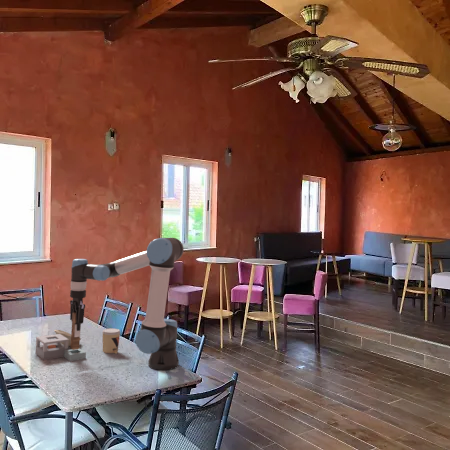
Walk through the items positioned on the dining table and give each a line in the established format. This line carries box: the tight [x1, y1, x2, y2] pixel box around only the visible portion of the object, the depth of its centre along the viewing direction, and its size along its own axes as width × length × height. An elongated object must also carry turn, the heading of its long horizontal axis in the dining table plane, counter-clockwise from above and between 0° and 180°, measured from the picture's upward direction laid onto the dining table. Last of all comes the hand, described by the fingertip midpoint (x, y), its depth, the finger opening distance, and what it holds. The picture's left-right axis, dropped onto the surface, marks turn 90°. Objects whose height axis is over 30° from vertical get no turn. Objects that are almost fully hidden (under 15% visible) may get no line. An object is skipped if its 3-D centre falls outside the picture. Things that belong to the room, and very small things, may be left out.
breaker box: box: [35, 333, 69, 361], centre depth 220 cm, size 12×12×10 cm
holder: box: [63, 347, 87, 362], centre depth 218 cm, size 8×8×4 cm
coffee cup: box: [102, 327, 121, 355], centre depth 232 cm, size 9×9×12 cm
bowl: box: [53, 329, 81, 347], centre depth 238 cm, size 15×14×10 cm
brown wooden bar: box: [70, 313, 81, 350], centre depth 218 cm, size 3×3×18 cm
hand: (75, 335), depth 218 cm, fingers closed on brown wooden bar, 3 cm apart
